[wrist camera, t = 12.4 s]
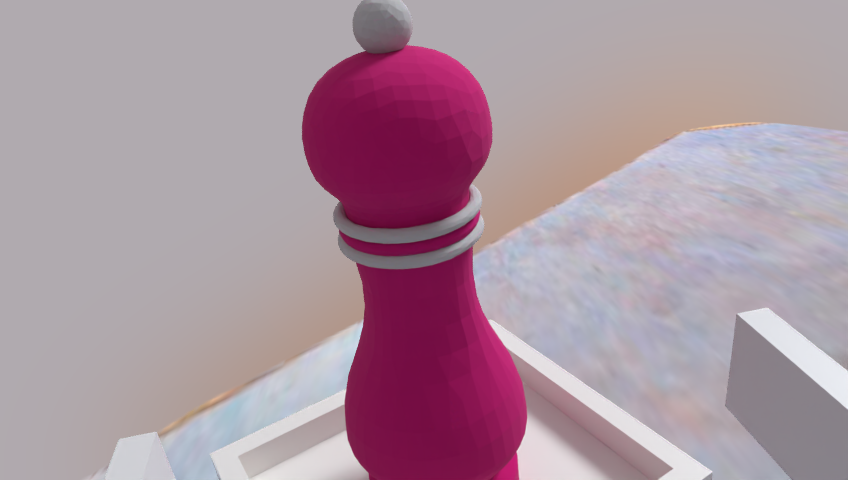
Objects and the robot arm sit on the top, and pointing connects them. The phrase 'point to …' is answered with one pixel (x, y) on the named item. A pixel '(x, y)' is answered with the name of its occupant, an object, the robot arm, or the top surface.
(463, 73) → the pepper mill
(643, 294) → the top surface
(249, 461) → the tray
